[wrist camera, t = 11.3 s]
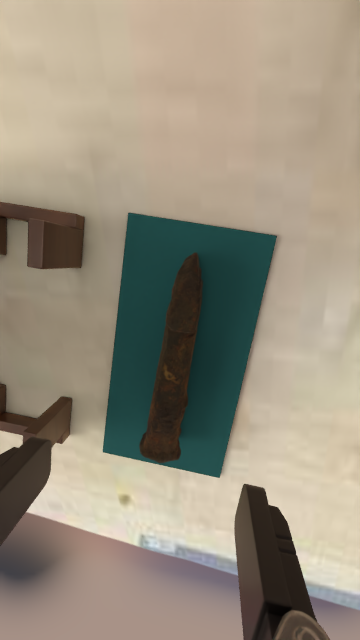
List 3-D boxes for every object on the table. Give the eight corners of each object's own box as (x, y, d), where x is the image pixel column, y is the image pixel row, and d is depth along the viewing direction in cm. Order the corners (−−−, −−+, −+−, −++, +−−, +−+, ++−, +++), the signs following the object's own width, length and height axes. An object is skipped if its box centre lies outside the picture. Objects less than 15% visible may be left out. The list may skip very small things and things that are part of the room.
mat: (275, 236, 22) (277, 235, 22) (219, 475, 28) (219, 478, 28) (129, 213, 23) (128, 212, 23) (104, 449, 29) (102, 452, 29)
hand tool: (181, 441, 27) (176, 477, 23) (144, 432, 27) (132, 465, 23) (227, 260, 23) (232, 260, 18) (183, 250, 23) (177, 248, 19)
